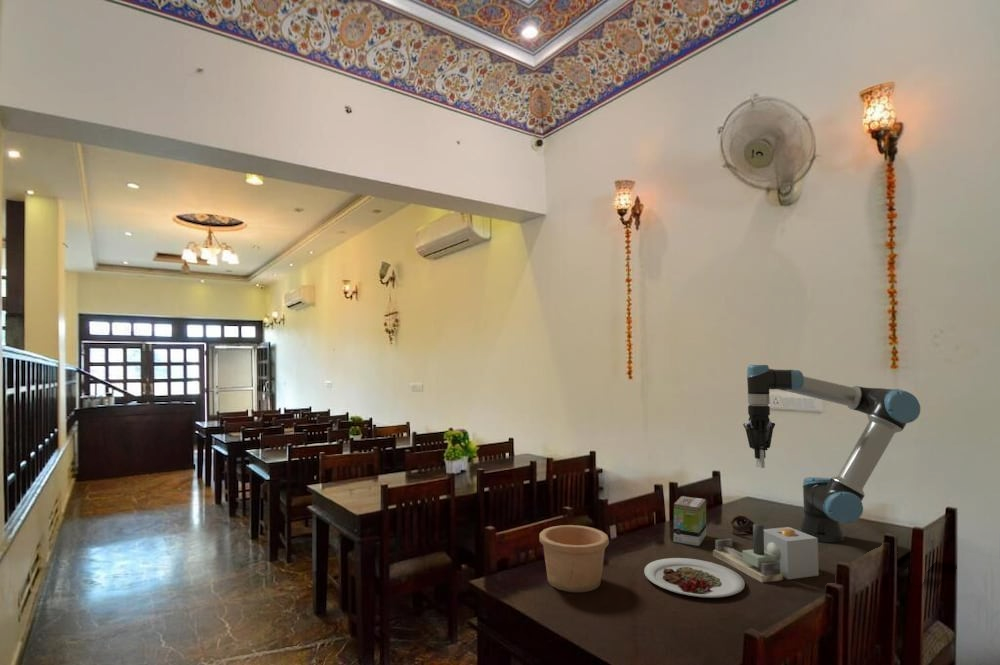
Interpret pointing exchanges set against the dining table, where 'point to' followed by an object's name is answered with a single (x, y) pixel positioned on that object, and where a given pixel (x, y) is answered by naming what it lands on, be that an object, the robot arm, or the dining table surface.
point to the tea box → (689, 520)
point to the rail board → (735, 559)
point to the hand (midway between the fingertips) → (760, 467)
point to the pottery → (574, 557)
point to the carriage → (758, 548)
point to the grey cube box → (793, 552)
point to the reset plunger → (788, 532)
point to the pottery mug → (741, 524)
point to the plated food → (694, 577)
